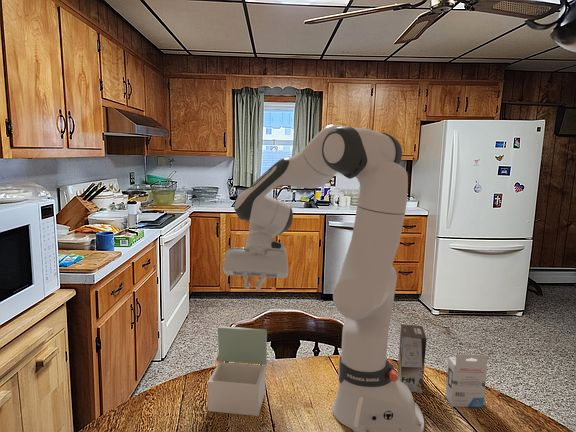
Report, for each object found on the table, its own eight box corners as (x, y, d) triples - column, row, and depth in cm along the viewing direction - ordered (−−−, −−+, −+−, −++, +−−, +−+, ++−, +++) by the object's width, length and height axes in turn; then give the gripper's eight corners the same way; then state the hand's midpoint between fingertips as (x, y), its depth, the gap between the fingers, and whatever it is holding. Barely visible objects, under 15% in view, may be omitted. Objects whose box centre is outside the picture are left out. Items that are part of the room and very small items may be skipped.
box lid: (266, 364, 109) (266, 362, 110) (266, 331, 106) (266, 329, 107) (218, 360, 110) (219, 358, 111) (217, 327, 108) (218, 325, 109)
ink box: (475, 396, 110) (480, 346, 108) (483, 407, 106) (489, 355, 103) (444, 395, 110) (448, 345, 108) (451, 407, 106) (456, 354, 103)
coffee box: (423, 393, 111) (427, 338, 109) (399, 390, 113) (402, 336, 110) (419, 376, 120) (423, 325, 118) (397, 373, 121) (400, 323, 119)
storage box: (265, 392, 110) (265, 365, 109) (258, 416, 100) (258, 386, 99) (219, 388, 111) (219, 361, 110) (208, 411, 102) (207, 381, 100)
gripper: (225, 241, 126) (216, 281, 118) (289, 244, 124) (285, 285, 116) (228, 252, 131) (220, 290, 123) (290, 255, 129) (286, 294, 121)
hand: (252, 288), depth 119 cm, fingers closed
